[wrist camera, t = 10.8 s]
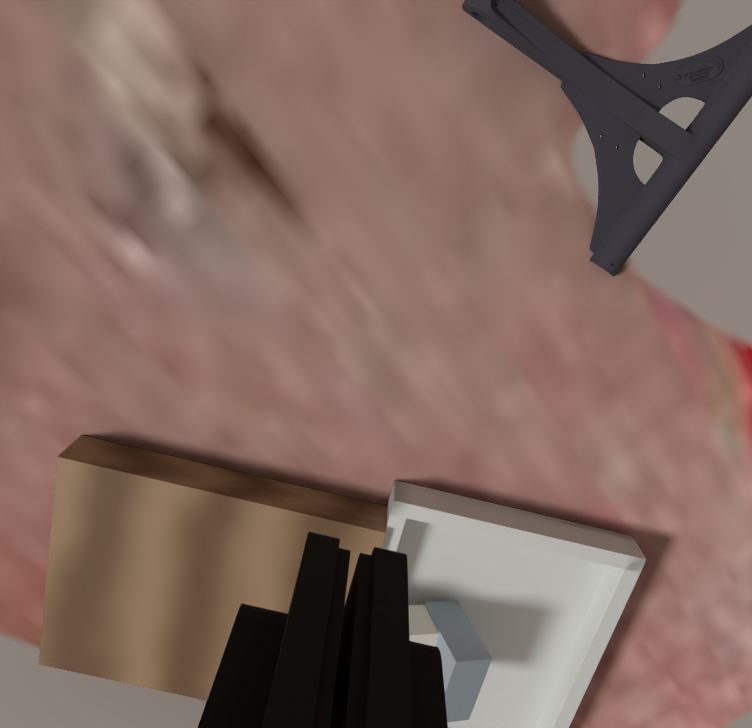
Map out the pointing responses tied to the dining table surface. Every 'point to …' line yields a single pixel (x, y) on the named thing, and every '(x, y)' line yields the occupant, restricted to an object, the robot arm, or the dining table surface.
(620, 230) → the bracket
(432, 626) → the cream tile
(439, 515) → the box
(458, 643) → the slate tile
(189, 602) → the tan wooden board
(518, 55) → the dining table surface
